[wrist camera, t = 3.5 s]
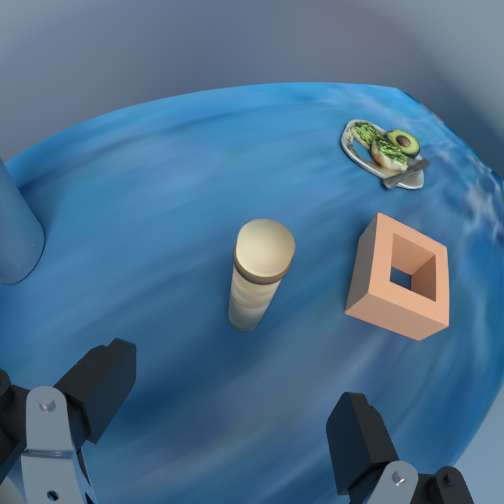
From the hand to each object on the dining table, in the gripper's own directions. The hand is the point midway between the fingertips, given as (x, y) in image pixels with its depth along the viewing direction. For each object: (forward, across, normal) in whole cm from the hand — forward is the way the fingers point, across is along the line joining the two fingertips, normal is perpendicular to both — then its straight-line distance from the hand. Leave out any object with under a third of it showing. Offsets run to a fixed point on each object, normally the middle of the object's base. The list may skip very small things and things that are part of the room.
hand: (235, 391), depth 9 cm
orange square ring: (+19, -15, -1) cm, 25 cm away
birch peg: (+15, 0, +4) cm, 15 cm away
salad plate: (+39, -18, -19) cm, 47 cm away
